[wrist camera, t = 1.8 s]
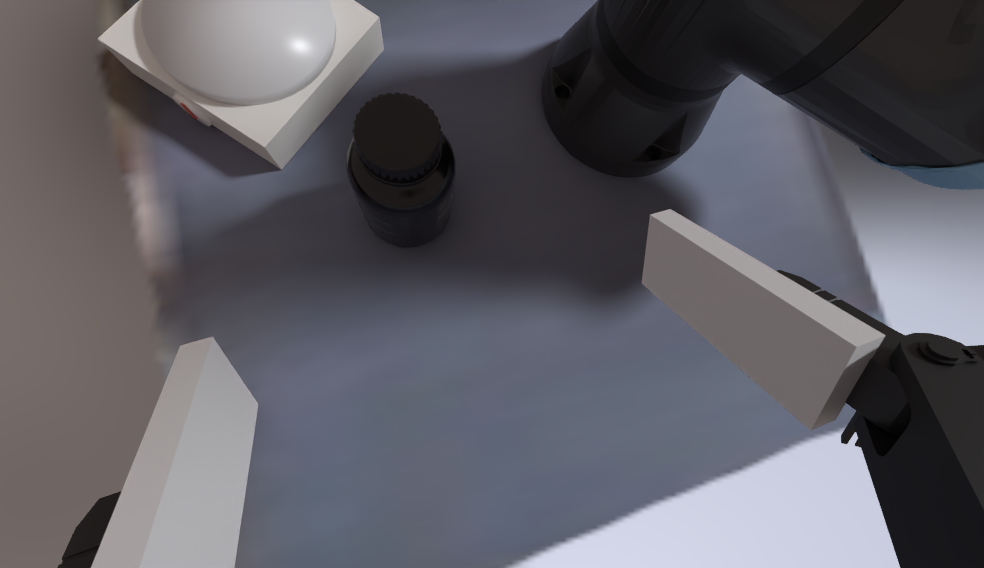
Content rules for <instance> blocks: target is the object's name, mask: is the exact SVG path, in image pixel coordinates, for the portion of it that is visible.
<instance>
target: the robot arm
mask: <svg viewBox="0 0 984 568" xmlns="http://www.w3.org/2000/svg"><path fill="white" fill-rule="evenodd" d="M740 74H743V75H744V76H746V77H748V78H749V79H751V80H752V81H754V82H755V83H758V84H759V85H761V86H762V87H764V88H766V89H767V90H769V91H770V92H772V93H773V94H775V95H777V96H778V97H780V98H781V99H783V100H785V101H786V102H788V103H789V104H791V105H793V106H794V107H796V108H797V109H799V110H801V111H802V112H804V113H805V114H807V115H809V116H810V117H812V118H813V119H815V120H817V121H818V122H820V123H822V124H823V125H825V126H826V127H828V128H830V129H831V130H833V131H835V132H836V133H838V134H839V135H841V136H842V137H844V138H846V139H847V140H849V141H851V142H852V143H854V144H855V145H857V146H858V147H860V150H861V151H862V153H864V155H866V156H867V157H868V158H870V159H871V160H873V161H874V162H876V163H878V164H880V165H885V166H887V167H889V168H891V169H896V170H898V171H900V172H902V173H904V174H906V175H907V176H909V177H911V178H913V179H915V180H917V181H919V182H921V183H924V184H928V185H931V186H935V187H940V188H946V189H959V190H970V189H971V190H973V189H984V0H598V1H597V2H596V3H595V4H594V5H593V6H592V7H591V8H590V9H589V10H588V11H587V12H586V13H585V14H584V15H583V16H582V17H581V18H580V19H579V20H578V21H577V22H576V23H575V24H574V25H573V26H572V27H571V28H570V29H569V30H568V31H567V32H566V33H565V34H564V36H563V37H562V38H561V40H560V41H559V43H558V44H557V46H556V47H555V49H554V51H553V53H552V56H551V58H550V61H549V63H548V66H547V68H546V71H545V74H544V78H543V84H542V101H543V107H544V111H545V115H546V117H547V120H548V122H549V125H550V127H551V129H552V130H553V132H554V134H555V135H556V137H557V138H558V140H559V141H560V142H561V143H562V145H563V146H564V147H565V148H566V149H567V150H568V151H569V152H570V153H571V154H572V155H574V156H575V157H576V158H577V159H579V160H580V161H582V162H583V163H585V164H587V165H588V166H590V167H592V168H594V169H596V170H599V171H601V172H604V173H608V174H611V175H616V176H623V177H637V176H645V175H649V174H652V173H655V172H658V171H660V170H662V169H664V168H666V167H667V166H669V165H670V164H672V163H673V162H674V161H676V160H677V159H678V158H679V157H680V156H682V155H683V154H684V153H685V152H686V151H687V150H688V149H689V148H690V147H691V146H692V145H693V144H694V143H695V141H696V140H697V139H698V137H699V136H700V134H701V132H702V131H703V129H704V127H705V125H706V123H707V121H708V119H709V117H710V115H711V113H712V111H713V109H714V107H715V105H716V103H717V102H718V100H719V98H720V96H721V94H722V92H723V90H724V89H725V88H726V87H727V86H728V85H729V84H730V83H731V82H732V81H733V80H734V79H736V78H737V77H738V76H739V75H740ZM642 284H643V285H644V286H645V287H646V288H647V289H649V290H650V291H651V292H652V293H653V294H654V295H655V296H657V297H658V298H659V299H660V300H661V301H662V302H663V303H665V304H666V305H667V306H668V307H669V308H670V309H671V310H673V311H674V312H675V313H676V314H677V315H678V316H680V317H681V318H682V319H683V320H684V321H685V322H686V323H688V324H689V325H690V326H691V327H692V328H693V329H694V330H696V331H697V332H698V333H699V334H700V335H701V336H703V337H704V338H705V339H706V340H707V341H708V342H709V343H711V344H712V345H713V346H714V347H715V348H716V349H717V350H719V351H720V352H721V353H722V354H723V355H724V356H726V357H727V358H728V359H729V360H730V361H731V362H732V363H734V364H735V365H736V366H737V367H738V368H739V369H740V370H742V371H743V372H744V373H745V374H746V375H747V376H748V377H750V378H751V379H752V380H753V381H754V382H755V383H757V384H758V385H759V386H760V387H761V388H762V389H763V390H765V391H766V392H767V393H768V394H769V395H770V396H771V397H773V398H774V399H775V400H776V401H777V402H778V403H780V404H781V405H782V406H783V407H784V408H785V409H786V410H788V411H789V412H790V413H791V414H792V415H793V416H794V417H796V418H797V419H798V420H799V421H800V422H801V423H803V424H804V425H805V426H806V427H807V428H808V429H809V430H813V429H815V428H818V427H820V426H822V425H824V424H827V423H829V422H831V421H834V420H836V418H837V416H838V415H839V413H840V411H841V410H842V408H843V406H844V405H845V403H847V404H848V405H850V406H851V407H852V408H854V409H855V410H856V413H855V414H854V416H853V417H852V419H851V421H850V422H849V424H848V425H847V427H846V428H845V430H844V432H843V433H842V435H841V443H844V444H847V443H848V442H849V440H850V438H851V437H852V436H853V434H854V432H856V433H857V436H858V440H857V441H856V443H855V446H859V447H861V448H862V451H863V454H864V457H865V460H866V463H867V466H868V470H869V472H870V475H871V479H872V482H873V485H874V488H875V491H876V494H877V497H878V500H879V503H880V506H881V509H882V512H883V515H884V519H885V521H886V525H887V528H888V531H889V534H890V537H891V540H892V543H893V546H894V549H895V552H896V555H897V558H898V562H899V565H900V567H901V568H984V345H978V346H964V345H963V344H962V343H959V342H956V341H954V340H952V339H949V338H946V337H943V336H939V335H934V334H930V333H913V334H909V335H906V336H905V335H903V334H901V333H899V332H897V331H895V330H893V329H892V328H890V327H888V326H886V325H885V324H883V323H881V322H879V321H878V320H876V319H874V318H872V317H871V316H869V315H867V314H865V313H864V312H862V311H860V310H858V309H857V308H855V307H853V306H851V305H850V304H848V303H846V302H844V301H842V300H837V297H835V296H834V295H832V294H830V293H828V292H827V291H822V290H821V288H820V287H818V286H816V285H814V284H813V283H811V282H809V281H807V280H806V279H804V278H802V277H799V276H796V275H793V274H790V273H787V272H784V271H781V270H778V271H775V270H773V269H772V268H770V267H768V266H767V265H765V264H763V263H761V262H760V261H758V260H756V259H755V258H753V257H751V256H750V255H748V254H746V253H744V252H743V251H741V250H739V249H738V248H736V247H734V246H733V245H731V244H729V243H727V242H726V241H724V240H722V239H721V238H719V237H717V236H716V235H714V234H712V233H710V232H709V231H707V230H705V229H704V228H702V227H700V226H698V225H697V224H695V223H693V222H692V221H690V220H688V219H687V218H685V217H683V216H681V215H680V214H678V213H676V212H675V211H673V210H671V209H668V210H665V211H661V212H657V213H654V214H650V219H649V227H648V235H647V243H646V251H645V260H644V268H643V276H642ZM257 411H258V403H257V402H256V400H255V399H254V397H253V396H252V394H251V393H250V391H249V390H248V388H247V387H246V385H245V384H244V382H243V381H242V379H241V378H240V377H239V375H238V374H237V372H236V371H235V369H234V368H233V366H232V365H231V363H230V362H229V360H228V359H227V357H226V356H225V354H224V353H223V351H222V350H221V348H220V347H219V345H218V344H217V343H216V341H215V340H214V338H213V337H209V338H205V339H202V340H198V341H195V342H191V343H188V344H184V345H180V347H179V350H178V352H177V355H176V357H175V360H174V362H173V365H172V367H171V370H170V372H169V375H168V377H167V380H166V382H165V385H164V387H163V390H162V392H161V395H160V397H159V400H158V402H157V405H156V407H155V410H154V412H153V415H152V417H151V420H150V422H149V425H148V427H147V430H146V432H145V435H144V437H143V439H142V442H141V444H140V447H139V449H138V452H137V455H136V457H135V460H134V462H133V464H132V467H131V470H130V472H129V474H128V477H127V480H126V482H125V484H124V487H123V489H122V491H121V492H118V493H115V494H112V495H109V496H106V497H103V498H100V499H99V500H98V501H97V502H96V503H95V505H94V506H93V507H92V508H91V510H90V511H89V512H88V514H87V515H86V516H85V518H84V519H83V520H82V521H81V522H80V524H79V525H78V526H77V527H76V529H75V531H74V533H73V535H72V538H71V540H70V542H69V544H68V546H67V548H66V551H65V553H64V555H63V557H62V560H63V562H62V564H60V565H59V566H58V568H234V566H235V559H236V552H237V545H238V539H239V532H240V525H241V518H242V512H243V505H244V498H245V491H246V485H247V478H248V471H249V465H250V458H251V451H252V444H253V438H254V431H255V424H256V417H257Z"/></svg>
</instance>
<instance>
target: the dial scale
mask: <svg viewBox="0 0 984 568" xmlns="http://www.w3.org/2000/svg"><path fill="white" fill-rule="evenodd" d="M98 40H99V41H100V42H101V43H102V44H103V45H104V46H105V47H106V48H107V49H108V50H109V51H110V52H111V53H112V54H113V55H114V56H115V57H116V58H117V59H118V60H119V61H120V62H121V63H123V64H124V65H125V66H126V67H127V68H128V69H129V70H130V71H131V72H132V73H133V74H135V75H136V76H138V77H139V78H141V79H142V80H144V81H145V82H147V83H148V84H150V85H151V86H153V87H155V88H156V89H158V90H159V91H161V92H162V93H164V94H165V95H167V96H168V97H170V98H172V99H173V100H174V101H175V102H176V103H177V104H178V105H179V106H180V107H182V108H183V109H184V110H185V111H186V112H188V113H189V114H190V115H191V116H192V117H193V118H194V119H197V120H198V121H200V122H201V123H203V124H204V125H206V126H211V124H212V125H213V126H215V127H216V128H218V129H219V130H221V131H222V132H224V133H226V134H227V135H229V136H230V137H232V138H233V139H235V140H236V141H238V142H239V143H241V144H242V145H244V146H246V147H247V148H249V149H250V150H252V151H253V152H255V153H256V154H258V155H259V156H261V157H263V158H264V159H266V160H267V161H269V162H270V163H272V164H273V165H275V166H276V167H278V168H279V169H281V170H282V169H283V168H284V167H285V165H286V164H287V163H288V162H289V161H290V160H291V158H292V157H293V156H294V155H295V154H296V152H297V151H298V150H299V149H300V148H301V147H302V145H303V144H304V143H305V142H306V141H307V140H308V138H309V137H310V136H311V135H312V134H313V133H314V131H315V130H316V129H317V128H318V127H319V125H320V124H321V123H322V122H323V121H324V120H325V118H326V117H327V116H328V115H329V114H330V113H331V111H332V110H333V109H334V108H335V107H336V106H337V104H338V103H339V102H340V101H341V100H342V99H343V97H344V96H345V95H346V94H347V93H348V91H349V90H350V89H351V88H352V87H353V86H354V84H355V83H356V82H357V81H358V80H359V79H360V77H361V76H362V75H363V74H364V73H365V72H366V70H367V69H368V68H369V67H370V66H371V64H372V63H373V62H374V61H375V60H376V59H377V57H378V56H379V55H380V54H381V53H382V52H383V50H384V47H383V40H382V33H381V26H380V19H379V17H378V16H377V15H375V14H374V13H372V12H371V11H369V10H368V9H366V8H365V7H363V6H362V5H360V4H359V3H357V2H356V1H354V0H139V1H138V2H137V3H136V4H135V5H134V6H133V7H132V8H131V9H130V10H129V11H127V12H126V13H125V14H124V15H123V16H122V17H121V18H120V19H119V20H118V21H116V22H115V23H114V24H113V25H112V26H111V27H110V28H109V29H108V30H107V31H106V32H104V33H103V34H102V35H101V36H100V37H99V38H98Z"/></svg>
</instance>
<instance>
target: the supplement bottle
mask: <svg viewBox="0 0 984 568" xmlns="http://www.w3.org/2000/svg"><path fill="white" fill-rule="evenodd" d="M440 129H441V126H440V124H439V123H438V118H437V117H436V116H435V115H434V112H433V110H431V109H430V108H429V106H428V105H427V104H425V103H423V102H422V100H419V99H416V98H415V97H414V96H409V95H407V94H399V93H394V94H391V93H388V94H385V95H379V96H378V97H375V98H372V99H371V101H369V102H367V103H366V104H365V106H364V107H362V108H361V109H360V112H359V113H358V114H357V115H356V120H355V121H354V129H353V134H354V137H353V138H352V140H351V142H350V145H349V147H348V151H347V157H346V167H347V173H348V176H349V180H350V182H351V185H352V187H353V190H354V192H355V194H356V197H357V199H358V201H359V204H360V206H361V208H362V211H363V213H364V215H365V218H366V220H367V222H368V224H369V226H370V227H371V229H372V230H373V231H374V232H375V234H376V235H377V236H379V237H380V238H381V239H382V240H384V241H386V242H387V243H390V244H392V245H395V246H399V247H417V246H421V245H424V244H426V243H429V242H430V241H432V240H433V239H435V238H436V237H437V236H438V235H439V234H440V233H441V232H442V230H443V229H444V227H445V226H446V223H447V221H448V218H449V214H450V208H451V201H452V193H453V186H454V179H455V156H454V152H453V149H452V147H451V144H450V142H449V141H448V139H447V138H446V136H445V135H444V134H443V132H442V131H441V130H440Z"/></svg>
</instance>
